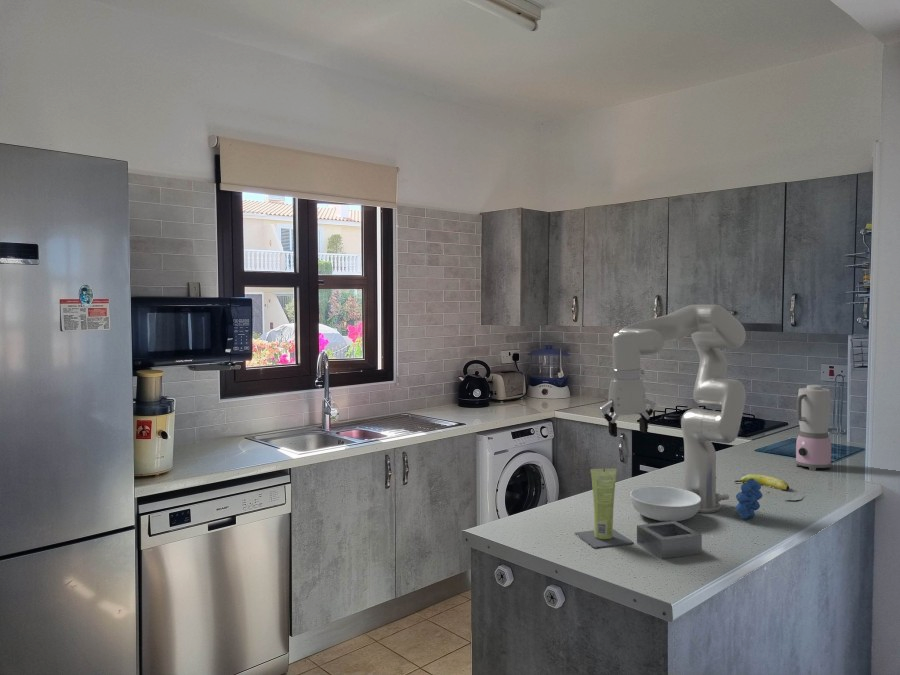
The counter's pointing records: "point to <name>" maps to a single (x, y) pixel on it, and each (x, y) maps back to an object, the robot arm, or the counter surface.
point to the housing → (669, 539)
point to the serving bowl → (665, 503)
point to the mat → (595, 542)
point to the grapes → (749, 499)
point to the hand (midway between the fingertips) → (628, 434)
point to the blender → (813, 427)
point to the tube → (603, 501)
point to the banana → (766, 481)
